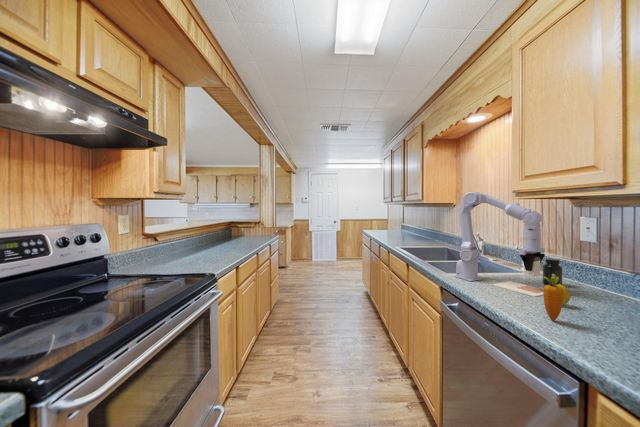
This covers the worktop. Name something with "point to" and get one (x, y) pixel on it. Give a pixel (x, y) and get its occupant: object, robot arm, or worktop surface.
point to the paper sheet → (520, 288)
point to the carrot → (553, 297)
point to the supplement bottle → (552, 270)
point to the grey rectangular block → (534, 268)
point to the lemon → (565, 294)
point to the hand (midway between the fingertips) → (531, 270)
